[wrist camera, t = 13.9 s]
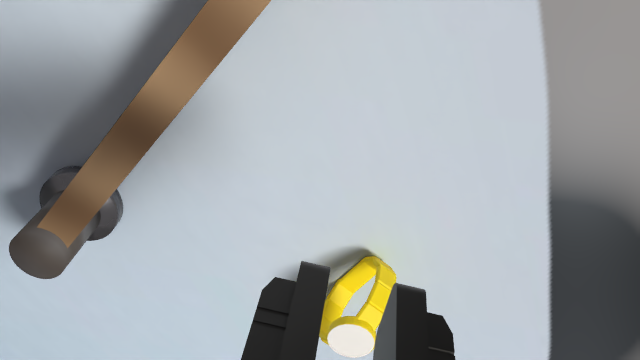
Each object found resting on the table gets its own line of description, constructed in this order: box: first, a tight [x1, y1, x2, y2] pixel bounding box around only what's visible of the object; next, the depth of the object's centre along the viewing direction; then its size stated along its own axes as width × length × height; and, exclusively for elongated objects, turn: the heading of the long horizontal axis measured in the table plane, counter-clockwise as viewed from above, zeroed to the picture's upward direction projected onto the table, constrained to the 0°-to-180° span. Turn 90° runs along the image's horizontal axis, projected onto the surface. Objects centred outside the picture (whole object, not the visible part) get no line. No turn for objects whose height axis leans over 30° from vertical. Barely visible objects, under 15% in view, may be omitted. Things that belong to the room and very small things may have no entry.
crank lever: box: [9, 0, 271, 279], centre depth 29 cm, size 24×3×6 cm, turn 138°
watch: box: [319, 256, 396, 358], centre depth 36 cm, size 6×3×6 cm, turn 141°
